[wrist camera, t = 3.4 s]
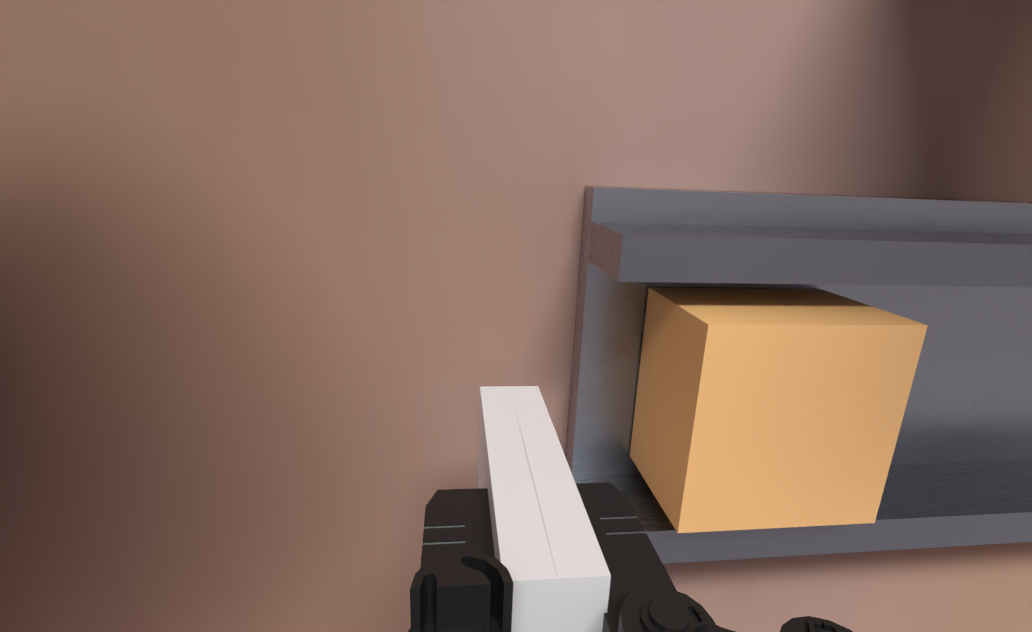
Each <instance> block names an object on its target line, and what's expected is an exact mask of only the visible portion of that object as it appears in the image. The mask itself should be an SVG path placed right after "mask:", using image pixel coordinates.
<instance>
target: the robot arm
mask: <svg viewBox="0 0 1032 632" xmlns="http://www.w3.org/2000/svg"><path fill="white" fill-rule="evenodd" d="M478 488H479V489H450V490H437V492H436V493H435V494H434V496H433V497H432V498H431V500H430V501H429V503H428V504H427V505H426V510H425V522H424V534H423V546H422V558H421V568H420V570H419V571H418V572H417V573H416V574H415V577H414V579H413V582H412V585H411V588H410V604H411V628H410V630H409V632H735V631H731V630H728V629H725V628H721V627H719V626H717V625H716V624H715V622H714V621H713V619H712V618H711V617H710V615H709V614H708V613H707V612H706V610H705V609H704V608H703V607H702V606H701V605H700V604H699V603H697V602H696V601H694V600H693V599H691V598H690V597H689V596H687V595H686V594H683V593H680V592H678V591H677V590H676V588H675V586H674V585H673V583H672V581H671V579H670V577H669V575H668V573H667V571H666V569H665V567H664V566H663V564H662V562H661V560H660V558H659V556H658V554H657V552H656V550H655V548H654V547H653V545H652V543H651V541H650V539H649V537H648V535H647V534H645V529H644V528H643V526H642V524H641V522H640V520H639V519H637V514H636V512H635V511H634V509H633V507H632V505H631V503H630V501H629V499H628V497H627V496H625V495H624V494H623V493H622V492H621V491H619V490H618V489H617V488H616V487H615V486H613V485H612V484H611V483H580V484H576V483H575V481H574V478H573V476H572V473H571V470H570V468H569V465H568V463H567V460H566V457H565V455H564V452H563V450H562V447H561V444H560V442H559V439H558V437H557V434H556V431H555V429H554V426H553V424H552V421H551V418H550V416H549V413H548V411H547V408H546V405H545V403H544V400H543V398H542V395H541V392H540V390H539V387H538V386H500V387H480V409H479V454H478ZM780 632H852V631H851V630H849V629H847V628H845V627H843V626H840V625H838V624H836V623H834V622H831V621H829V620H825V619H820V618H815V617H810V616H807V617H798V618H792V619H791V620H789V621H788V622H786V623H785V624H783V625H782V627H781V630H780Z"/></svg>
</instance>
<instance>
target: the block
mask: <svg viewBox="0 0 1032 632" xmlns="http://www.w3.org/2000/svg"><path fill="white" fill-rule="evenodd" d="M927 327H928V325H926V324H923V323H920V322H917V321H914V320H911V319H908V318H905V317H902V316H899V315H896V314H893V313H890V312H887V311H885V310H882V309H879V308H876V307H873V306H870V305H867V304H864V303H861V302H858V301H855V300H852V299H849V298H846V297H843V296H840V295H837V294H834V293H831V292H828V291H825V290H822V289H737V288H652V287H649V289H648V298H647V306H646V315H645V324H644V333H643V342H642V351H641V360H640V369H639V377H638V386H637V395H636V404H635V413H634V422H633V431H632V440H631V449H630V457H631V459H632V460H633V462H634V463H635V465H636V467H637V468H638V470H639V472H640V473H641V475H642V476H643V478H644V480H645V481H646V483H647V485H648V486H649V488H650V489H651V491H652V493H653V494H654V496H655V497H656V499H657V501H658V502H659V504H660V506H661V507H662V509H663V510H664V512H665V514H666V515H667V517H668V518H669V520H670V522H671V523H672V525H673V527H674V528H675V530H676V531H677V533H692V532H711V531H730V530H749V529H769V528H788V527H807V526H827V525H846V524H865V523H875V520H876V516H877V513H878V509H879V505H880V501H881V498H882V494H883V490H884V487H885V483H886V479H887V475H888V472H889V468H890V464H891V460H892V457H893V453H894V449H895V446H896V442H897V438H898V434H899V431H900V427H901V423H902V420H903V416H904V412H905V408H906V405H907V401H908V397H909V393H910V390H911V386H912V382H913V379H914V375H915V371H916V367H917V364H918V360H919V356H920V353H921V349H922V345H923V341H924V338H925V334H926V330H927Z"/></svg>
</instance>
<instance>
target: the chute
mask: <svg viewBox="0 0 1032 632" xmlns="http://www.w3.org/2000/svg"><path fill="white" fill-rule="evenodd" d="M649 287H652V288H737V289H822V290H825V291H828V292H831V293H834V294H837V295H840V296H843V297H846V298H849V299H852V300H855V301H858V302H861V303H864V304H867V305H870V306H873V307H876V308H879V309H882V310H885V311H887V312H890V313H893V314H896V315H899V316H902V317H905V318H908V319H911V320H914V321H917V322H920V323H923V324H926V325H928V327H927V330H926V334H925V338H924V341H923V345H922V349H921V353H920V356H919V360H918V364H917V367H916V371H915V375H914V379H913V382H912V386H911V390H910V393H909V397H908V401H907V405H906V408H905V412H904V416H903V420H902V423H901V427H900V431H899V434H898V438H897V442H896V446H895V449H894V453H893V457H892V460H891V464H890V468H889V472H888V475H887V479H886V483H885V487H884V490H883V494H882V498H881V501H880V505H879V509H878V513H877V516H876V520H875V523H865V524H846V525H827V526H807V527H788V528H769V529H749V530H730V531H711V532H692V533H677V531H676V530H675V528H674V527H673V525H672V523H671V522H670V520H669V518H668V517H667V515H666V514H665V512H664V510H663V509H662V507H661V506H660V504H659V502H658V501H657V499H656V497H655V496H654V494H653V493H652V491H651V489H650V488H649V486H648V485H647V483H646V481H645V480H644V478H643V476H642V475H641V473H640V472H639V470H638V468H637V467H636V465H635V463H634V462H633V460H632V459H631V457H630V449H631V440H632V431H633V422H634V413H635V404H636V395H637V386H638V377H639V369H640V360H641V351H642V342H643V333H644V324H645V315H646V306H647V298H648V289H649ZM565 457H566V460H567V463H568V465H569V468H570V470H571V473H572V476H573V478H574V481H575V483H576V484H580V483H611V484H612V485H613V486H615V487H616V488H617V489H618V490H619V491H621V492H622V493H623V494H624V495H625V496H627V497H628V499H629V501H630V503H631V505H632V507H633V509H634V511H635V512H636V514H637V519H639V520H640V522H641V524H642V526H643V528H644V529H645V534H647V535H648V537H649V539H650V541H651V543H652V545H653V547H654V548H655V550H656V552H657V554H658V556H659V558H660V560H661V562H662V564H669V563H685V562H702V561H719V560H736V559H753V558H769V557H786V556H803V555H820V554H837V553H853V552H870V551H887V550H904V549H921V548H937V547H954V546H971V545H988V544H1005V543H1021V542H1032V203H1027V202H1000V201H973V200H946V199H919V198H892V197H865V196H838V195H811V194H785V193H758V192H731V191H704V190H677V189H650V188H623V187H596V186H586V187H585V201H584V214H583V228H582V241H581V254H580V268H579V281H578V295H577V308H576V322H575V335H574V349H573V362H572V375H571V389H570V402H569V416H568V429H567V443H566V456H565Z"/></svg>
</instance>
